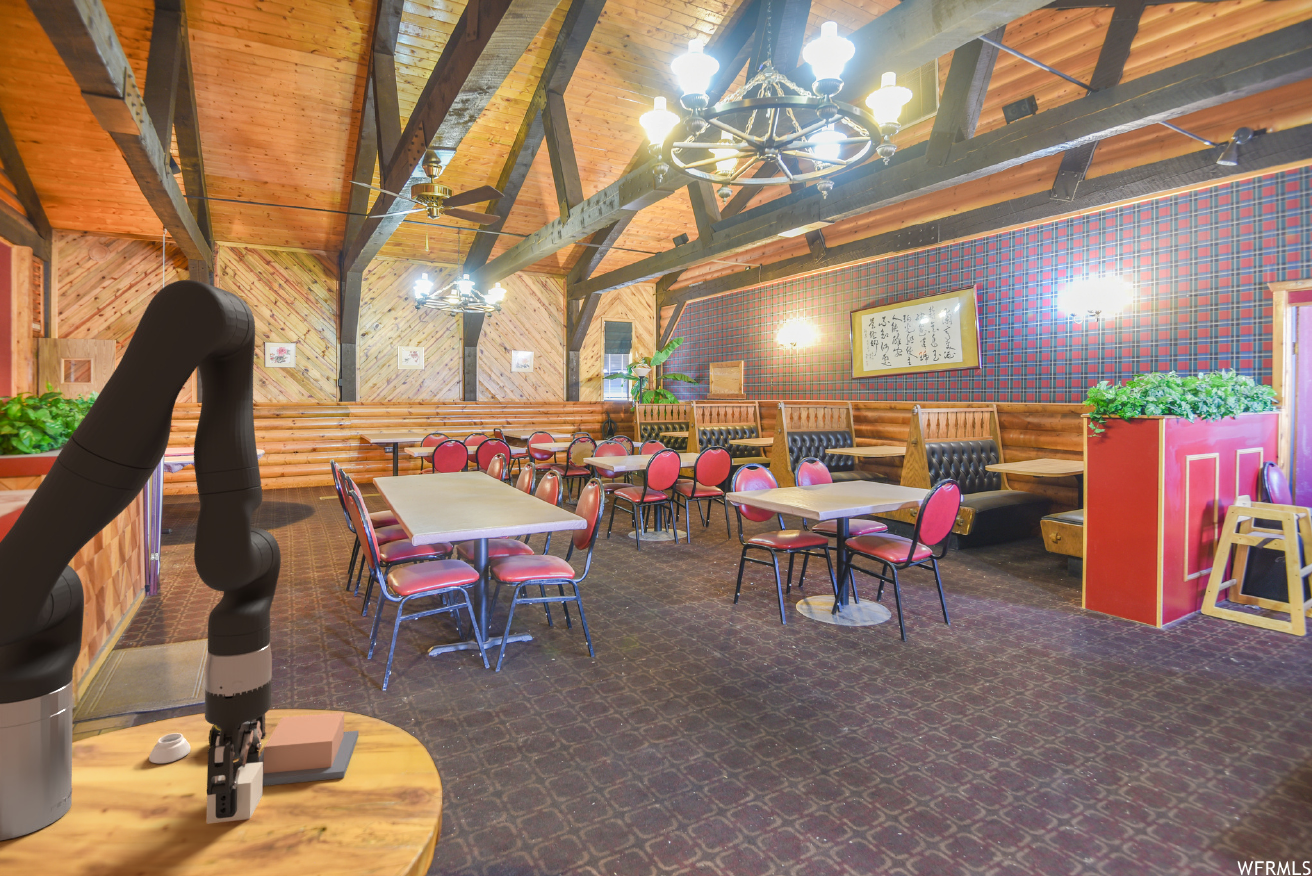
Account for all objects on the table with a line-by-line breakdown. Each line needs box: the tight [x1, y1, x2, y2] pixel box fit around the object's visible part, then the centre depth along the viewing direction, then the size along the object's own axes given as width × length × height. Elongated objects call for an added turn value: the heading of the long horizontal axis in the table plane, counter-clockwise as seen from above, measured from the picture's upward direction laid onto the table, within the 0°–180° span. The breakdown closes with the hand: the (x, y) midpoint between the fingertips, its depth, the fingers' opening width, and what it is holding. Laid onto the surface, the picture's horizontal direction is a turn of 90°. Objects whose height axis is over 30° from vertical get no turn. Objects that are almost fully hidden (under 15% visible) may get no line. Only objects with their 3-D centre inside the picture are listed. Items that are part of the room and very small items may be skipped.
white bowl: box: [148, 732, 191, 764], centre depth 98 cm, size 5×3×5 cm
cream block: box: [206, 762, 264, 824], centre depth 86 cm, size 5×5×5 cm
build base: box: [259, 712, 359, 787], centre depth 98 cm, size 13×12×5 cm
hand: (238, 796), depth 86 cm, fingers open, 8 cm apart
